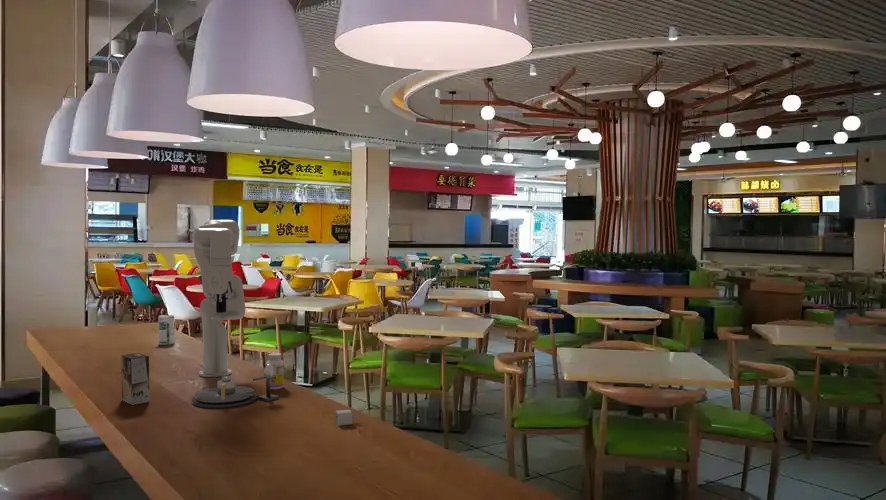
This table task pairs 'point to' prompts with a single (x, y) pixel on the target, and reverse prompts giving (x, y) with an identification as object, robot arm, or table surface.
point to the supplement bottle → (278, 379)
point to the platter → (224, 395)
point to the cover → (227, 385)
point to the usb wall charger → (344, 417)
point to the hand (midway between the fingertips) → (221, 312)
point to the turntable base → (227, 405)
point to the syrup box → (166, 329)
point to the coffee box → (135, 378)
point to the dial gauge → (268, 382)
